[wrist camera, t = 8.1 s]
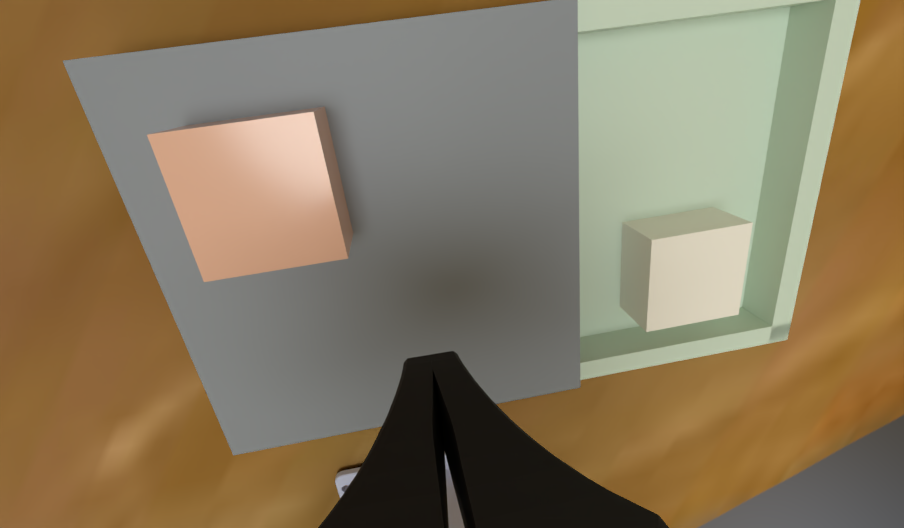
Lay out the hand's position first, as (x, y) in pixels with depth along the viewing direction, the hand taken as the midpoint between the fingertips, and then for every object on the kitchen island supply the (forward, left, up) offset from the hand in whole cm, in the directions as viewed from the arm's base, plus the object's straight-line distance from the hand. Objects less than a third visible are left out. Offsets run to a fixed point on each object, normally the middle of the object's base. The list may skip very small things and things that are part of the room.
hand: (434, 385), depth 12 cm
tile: (-2, -12, -6) cm, 14 cm away
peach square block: (+5, +4, -6) cm, 9 cm away
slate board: (+1, +1, -9) cm, 10 cm away
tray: (+1, -12, -9) cm, 15 cm away
